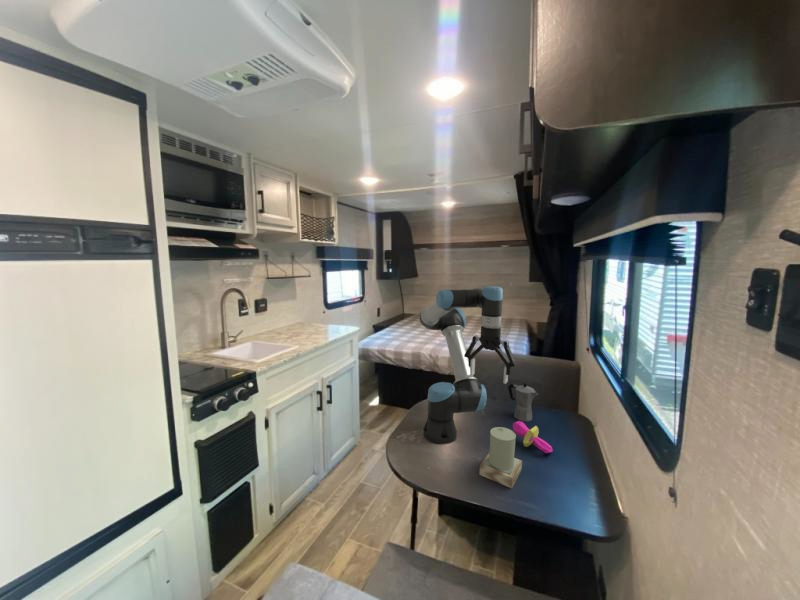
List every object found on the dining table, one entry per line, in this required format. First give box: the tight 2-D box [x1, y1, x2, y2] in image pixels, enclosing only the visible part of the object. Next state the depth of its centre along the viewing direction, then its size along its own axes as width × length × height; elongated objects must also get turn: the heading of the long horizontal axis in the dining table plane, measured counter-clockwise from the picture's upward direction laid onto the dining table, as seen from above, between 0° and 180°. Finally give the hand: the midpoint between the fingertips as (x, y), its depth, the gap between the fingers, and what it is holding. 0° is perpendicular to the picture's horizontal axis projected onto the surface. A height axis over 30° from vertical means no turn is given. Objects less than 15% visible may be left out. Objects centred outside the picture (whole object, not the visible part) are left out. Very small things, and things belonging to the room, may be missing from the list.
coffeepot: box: [507, 382, 539, 422], centre depth 162 cm, size 15×9×18 cm, turn 45°
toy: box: [512, 420, 554, 454], centre depth 137 cm, size 10×18×10 cm, turn 42°
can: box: [488, 426, 517, 470], centre depth 119 cm, size 9×9×12 cm
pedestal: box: [478, 452, 523, 489], centre depth 120 cm, size 12×12×4 cm
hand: (488, 378), depth 127 cm, fingers open, 13 cm apart
